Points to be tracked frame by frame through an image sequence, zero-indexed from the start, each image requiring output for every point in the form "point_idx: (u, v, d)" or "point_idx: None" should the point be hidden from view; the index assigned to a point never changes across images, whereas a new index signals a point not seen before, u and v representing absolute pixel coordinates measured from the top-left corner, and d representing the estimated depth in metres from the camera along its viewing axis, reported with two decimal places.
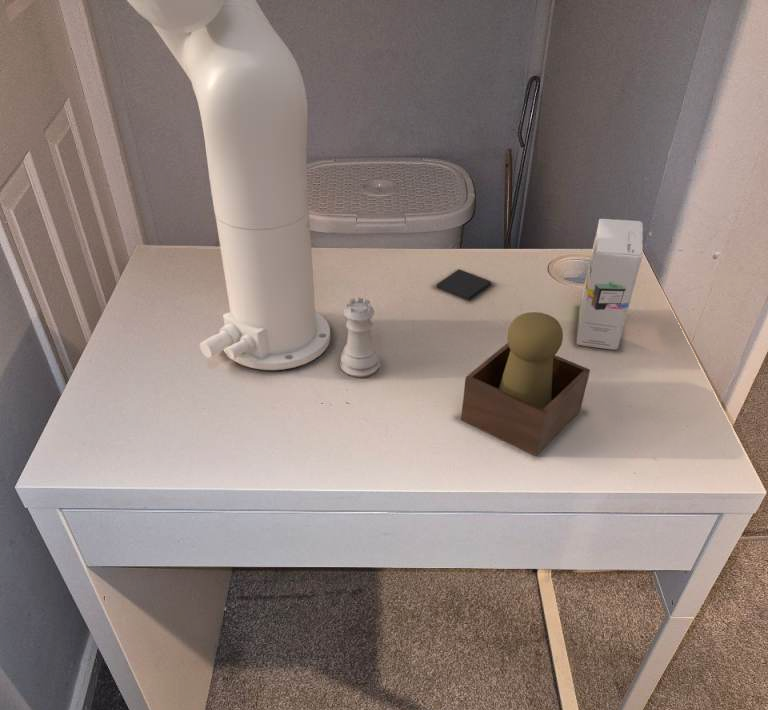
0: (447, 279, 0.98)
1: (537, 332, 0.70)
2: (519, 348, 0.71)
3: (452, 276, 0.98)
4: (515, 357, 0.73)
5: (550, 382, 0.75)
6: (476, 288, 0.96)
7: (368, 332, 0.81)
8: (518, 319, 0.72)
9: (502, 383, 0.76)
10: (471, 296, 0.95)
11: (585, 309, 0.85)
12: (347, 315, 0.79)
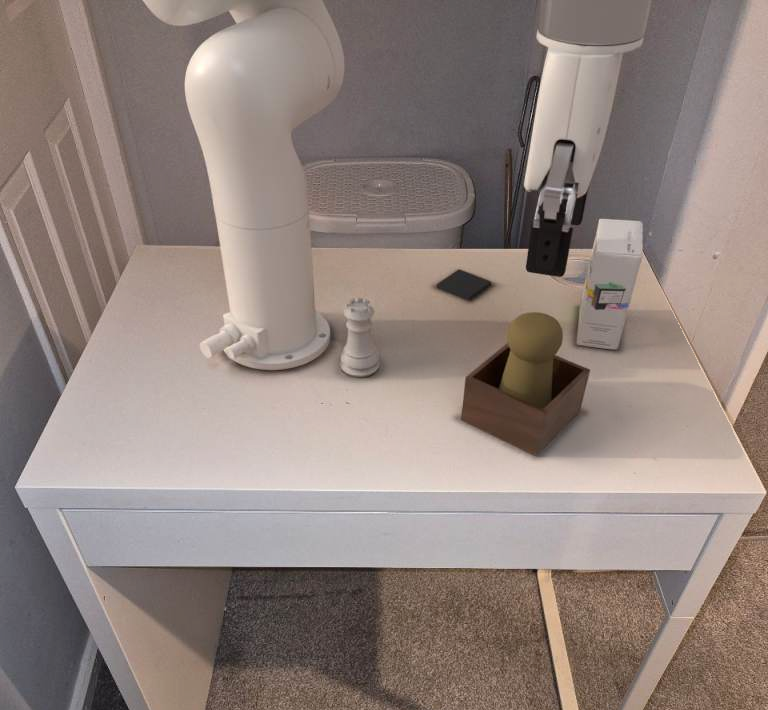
0: (447, 279, 0.98)
1: (537, 333, 0.70)
2: (519, 348, 0.71)
3: (452, 276, 0.98)
4: (515, 357, 0.73)
5: (550, 382, 0.75)
6: (476, 288, 0.96)
7: (368, 332, 0.81)
8: (518, 319, 0.72)
9: (502, 383, 0.76)
10: (471, 296, 0.95)
11: (585, 309, 0.85)
12: (347, 315, 0.79)
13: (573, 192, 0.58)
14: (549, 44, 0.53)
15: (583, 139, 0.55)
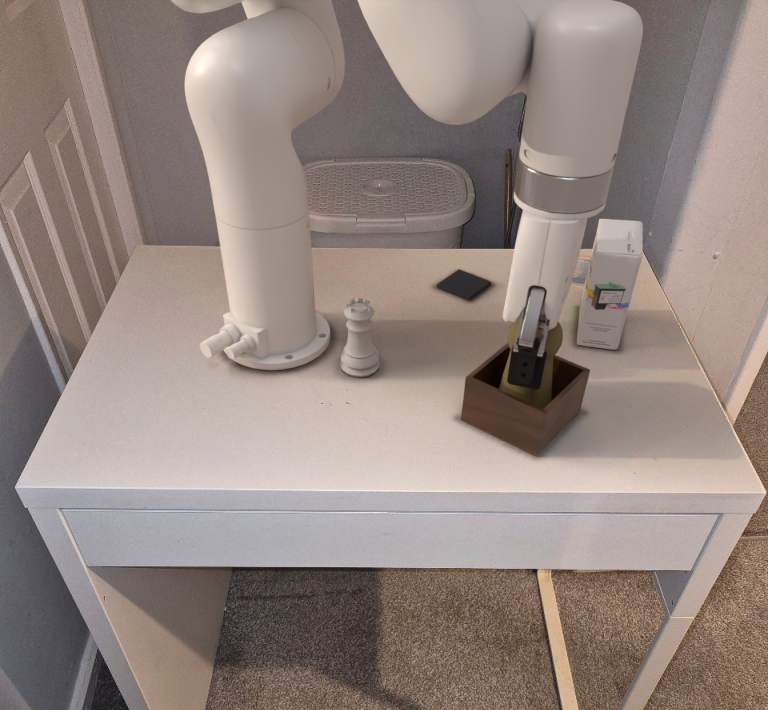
0: (447, 279, 0.98)
1: (538, 332, 0.70)
2: None
3: (452, 276, 0.98)
4: None
5: (550, 382, 0.75)
6: (476, 288, 0.96)
7: (368, 332, 0.81)
8: None
9: (502, 383, 0.76)
10: (471, 296, 0.95)
11: (585, 309, 0.85)
12: (347, 315, 0.79)
13: (545, 326, 0.66)
14: (524, 207, 0.61)
15: (553, 286, 0.63)
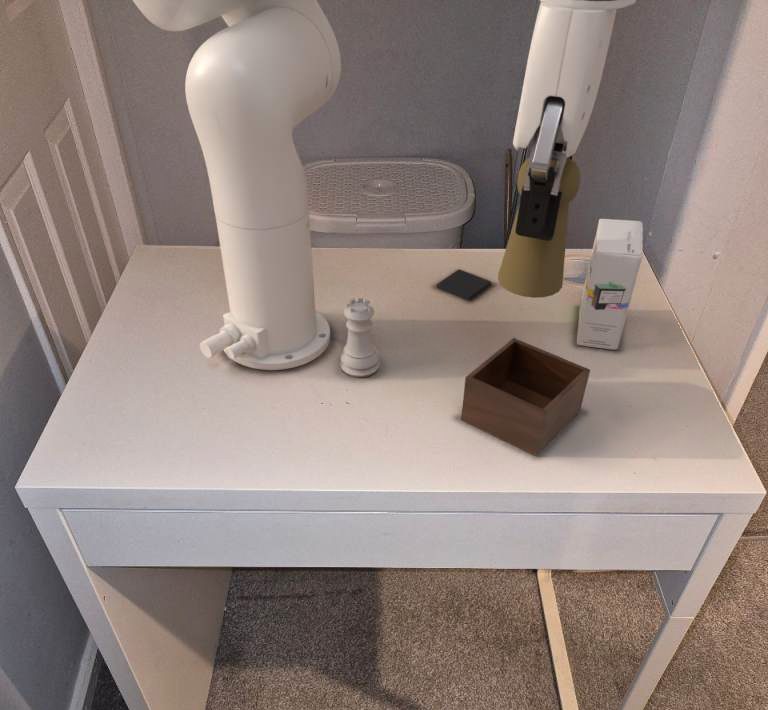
0: (447, 279, 0.98)
1: None
2: None
3: (452, 276, 0.98)
4: None
5: (564, 238, 0.66)
6: (476, 288, 0.96)
7: (368, 332, 0.81)
8: None
9: (510, 241, 0.67)
10: (471, 296, 0.95)
11: (585, 309, 0.85)
12: (347, 315, 0.79)
13: (562, 152, 0.58)
14: None
15: (573, 97, 0.55)
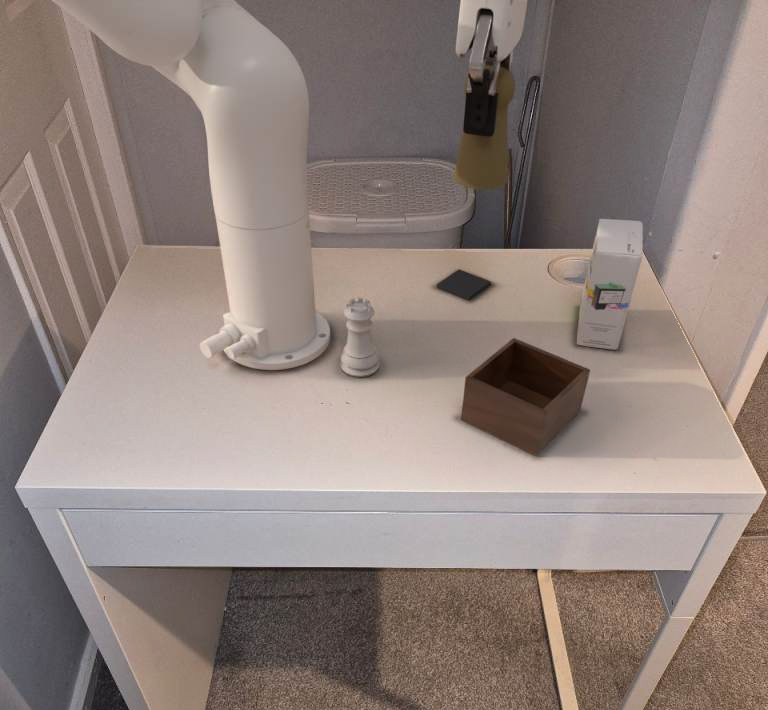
0: (447, 279, 0.98)
1: None
2: None
3: (452, 276, 0.98)
4: None
5: (505, 137, 0.81)
6: (476, 288, 0.96)
7: (368, 332, 0.81)
8: None
9: (461, 141, 0.82)
10: (471, 296, 0.95)
11: (585, 309, 0.85)
12: (347, 315, 0.79)
13: (494, 56, 0.72)
14: None
15: (499, 8, 0.69)
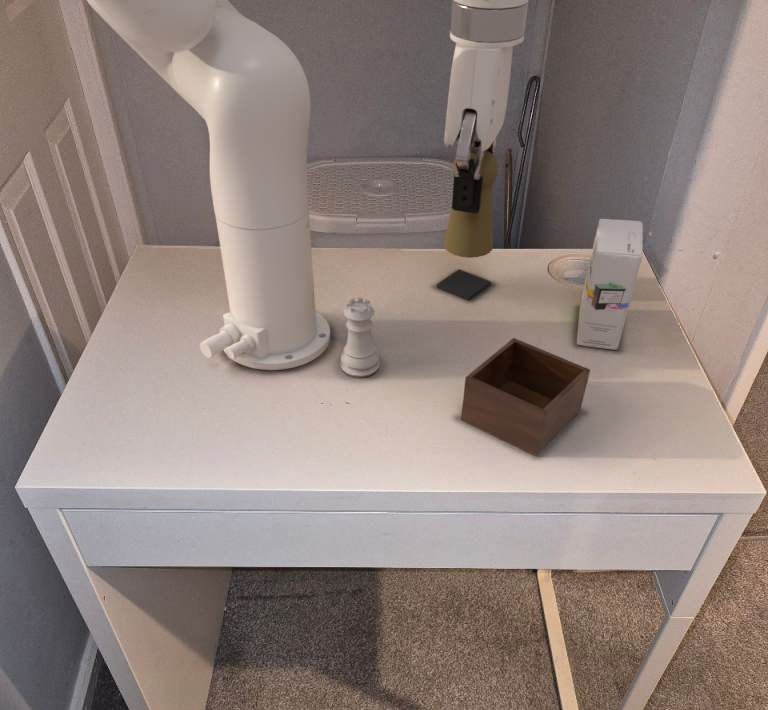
0: (447, 279, 0.98)
1: None
2: None
3: (452, 276, 0.98)
4: None
5: (490, 212, 0.89)
6: (476, 288, 0.96)
7: (368, 332, 0.81)
8: None
9: (450, 215, 0.90)
10: (471, 296, 0.95)
11: (585, 309, 0.85)
12: (347, 315, 0.79)
13: (478, 148, 0.81)
14: (456, 40, 0.76)
15: (482, 108, 0.77)
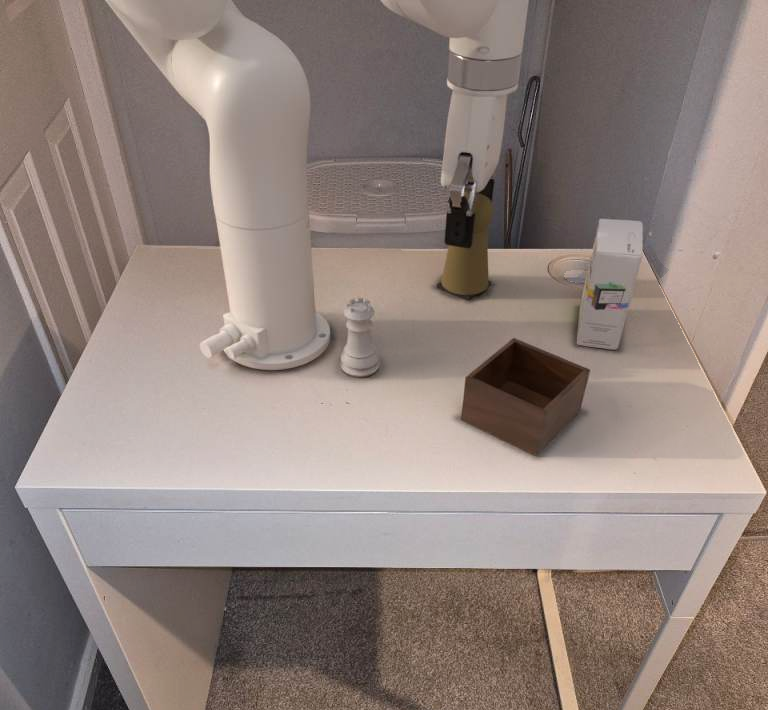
0: None
1: None
2: None
3: None
4: None
5: (485, 252, 0.93)
6: None
7: (368, 332, 0.81)
8: None
9: (447, 254, 0.94)
10: (471, 296, 0.95)
11: (585, 309, 0.85)
12: (347, 315, 0.79)
13: (474, 188, 0.84)
14: (453, 88, 0.79)
15: (477, 152, 0.81)
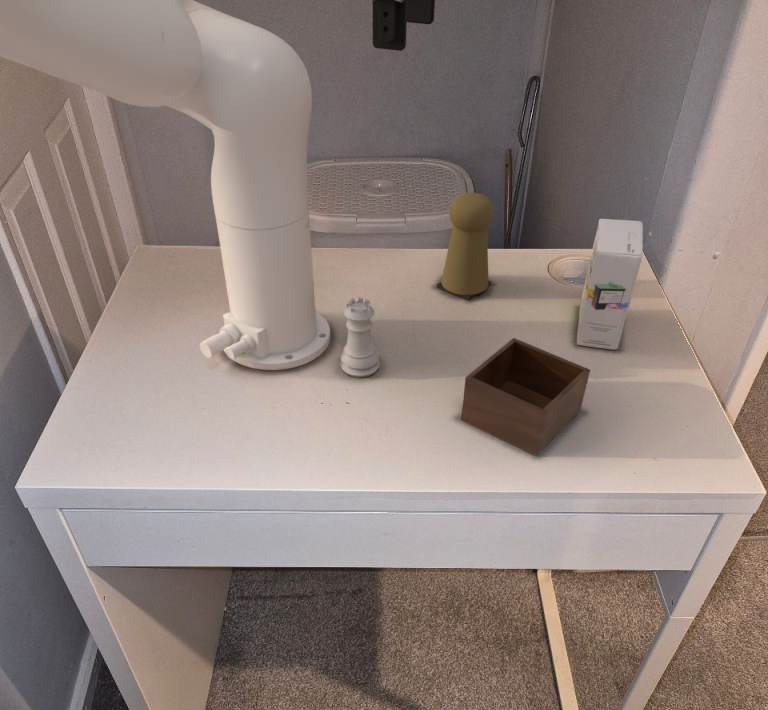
0: None
1: (472, 205, 0.88)
2: (457, 219, 0.89)
3: None
4: (456, 229, 0.91)
5: (485, 252, 0.93)
6: None
7: (368, 332, 0.81)
8: (458, 197, 0.90)
9: (447, 254, 0.94)
10: (471, 296, 0.95)
11: (585, 309, 0.85)
12: (347, 315, 0.79)
13: None
14: None
15: None
